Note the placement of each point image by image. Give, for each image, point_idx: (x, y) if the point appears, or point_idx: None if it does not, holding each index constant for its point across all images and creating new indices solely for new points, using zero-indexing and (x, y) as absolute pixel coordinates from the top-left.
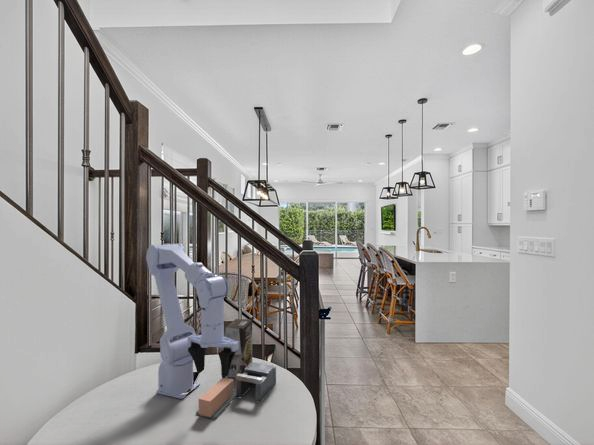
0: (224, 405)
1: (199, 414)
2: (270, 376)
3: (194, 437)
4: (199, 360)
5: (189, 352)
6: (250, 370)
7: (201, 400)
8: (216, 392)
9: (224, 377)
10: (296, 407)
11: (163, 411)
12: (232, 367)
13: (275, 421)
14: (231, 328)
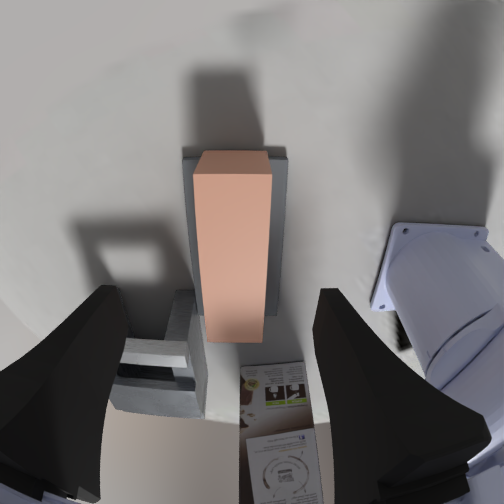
0: (195, 232)
1: (269, 157)
2: None
3: (199, 38)
4: (345, 373)
5: (462, 409)
6: (167, 388)
7: (252, 171)
8: (214, 248)
9: (96, 289)
10: (18, 291)
11: (424, 142)
12: (279, 392)
13: (15, 225)
14: None
